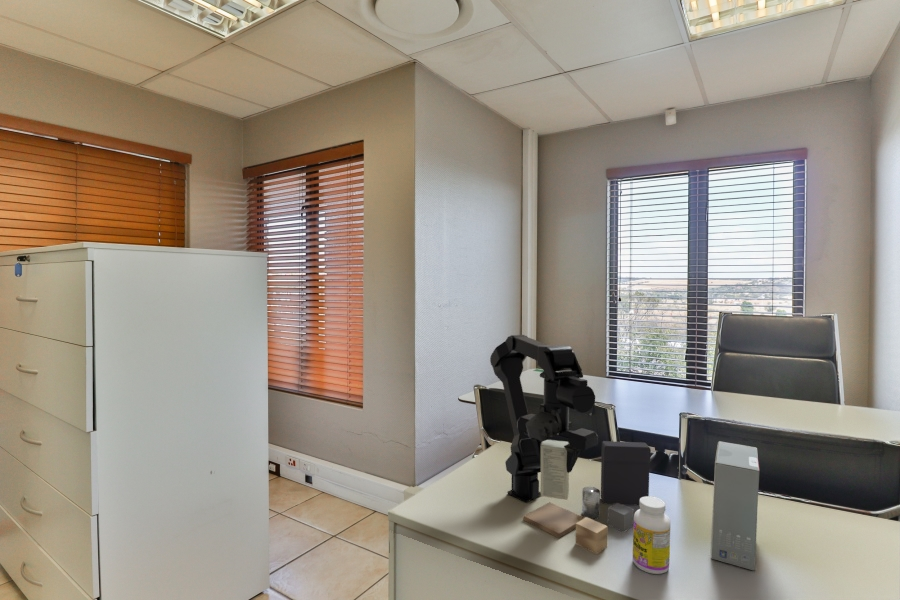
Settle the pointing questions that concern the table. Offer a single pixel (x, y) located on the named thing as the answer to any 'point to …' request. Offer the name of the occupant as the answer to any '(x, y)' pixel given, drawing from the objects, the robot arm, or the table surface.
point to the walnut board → (553, 519)
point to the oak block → (591, 535)
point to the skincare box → (554, 469)
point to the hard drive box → (735, 505)
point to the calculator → (624, 472)
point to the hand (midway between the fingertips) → (555, 466)
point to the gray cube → (620, 517)
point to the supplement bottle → (651, 536)
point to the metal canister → (591, 502)
